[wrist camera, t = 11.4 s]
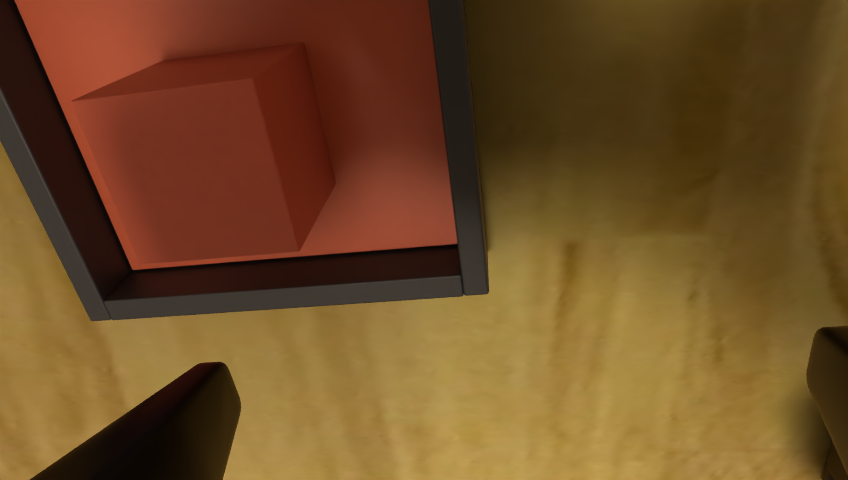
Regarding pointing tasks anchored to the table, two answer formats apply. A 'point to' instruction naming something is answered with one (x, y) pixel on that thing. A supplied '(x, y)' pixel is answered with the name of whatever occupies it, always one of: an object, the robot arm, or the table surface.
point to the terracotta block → (212, 154)
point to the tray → (344, 131)
